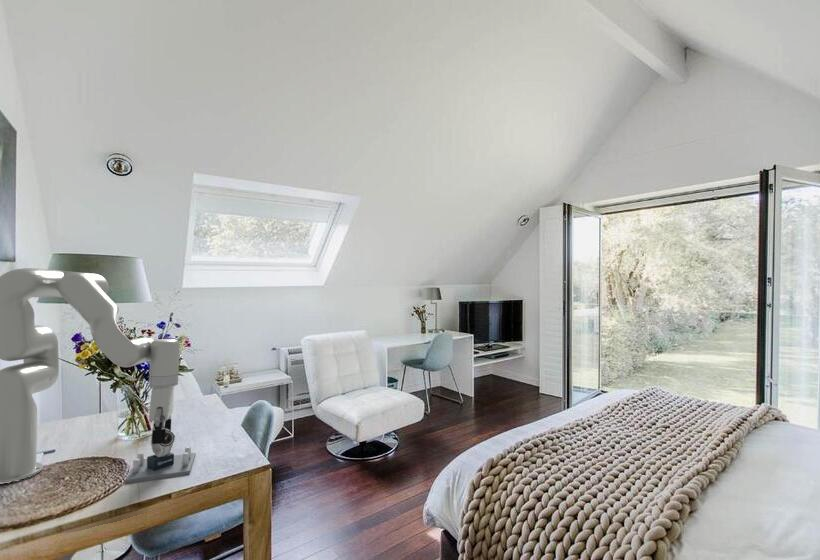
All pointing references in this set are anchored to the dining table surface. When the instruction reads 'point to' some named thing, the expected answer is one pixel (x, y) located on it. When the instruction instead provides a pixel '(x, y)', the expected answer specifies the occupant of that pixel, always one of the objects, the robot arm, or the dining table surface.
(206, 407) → the dining table surface
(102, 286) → the robot arm
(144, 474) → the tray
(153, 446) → the watch
